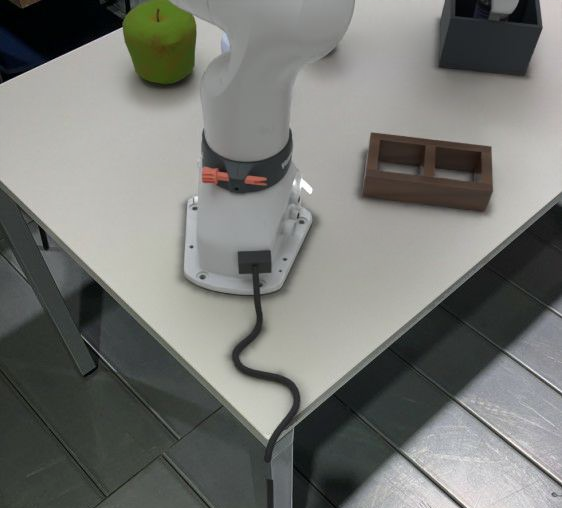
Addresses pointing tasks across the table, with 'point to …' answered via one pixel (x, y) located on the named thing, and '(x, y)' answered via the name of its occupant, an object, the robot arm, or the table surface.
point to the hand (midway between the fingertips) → (491, 12)
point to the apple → (160, 41)
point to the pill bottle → (486, 11)
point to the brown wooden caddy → (429, 172)
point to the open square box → (489, 38)
